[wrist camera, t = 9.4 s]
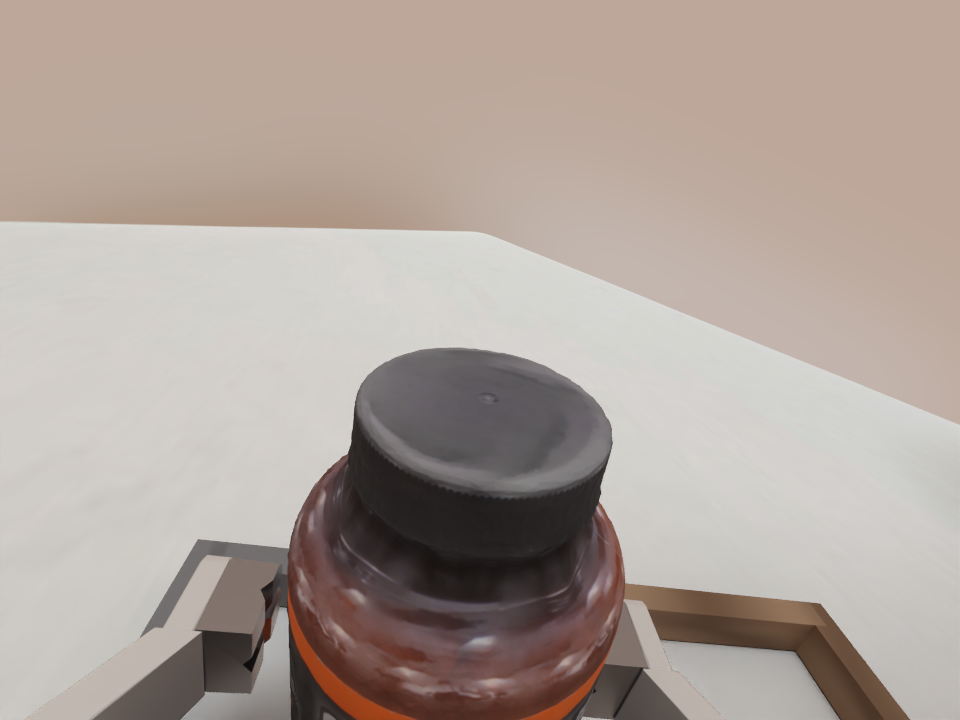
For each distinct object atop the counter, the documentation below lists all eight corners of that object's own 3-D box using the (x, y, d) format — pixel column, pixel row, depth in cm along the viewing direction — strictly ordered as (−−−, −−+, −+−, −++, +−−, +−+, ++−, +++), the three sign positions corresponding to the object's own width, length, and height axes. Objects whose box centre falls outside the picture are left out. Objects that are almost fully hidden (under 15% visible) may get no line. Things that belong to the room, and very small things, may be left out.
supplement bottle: (335, 648, 15) (350, 303, 10) (525, 672, 15) (628, 347, 10) (245, 939, 10) (186, 498, 5) (541, 971, 10) (769, 580, 5)
